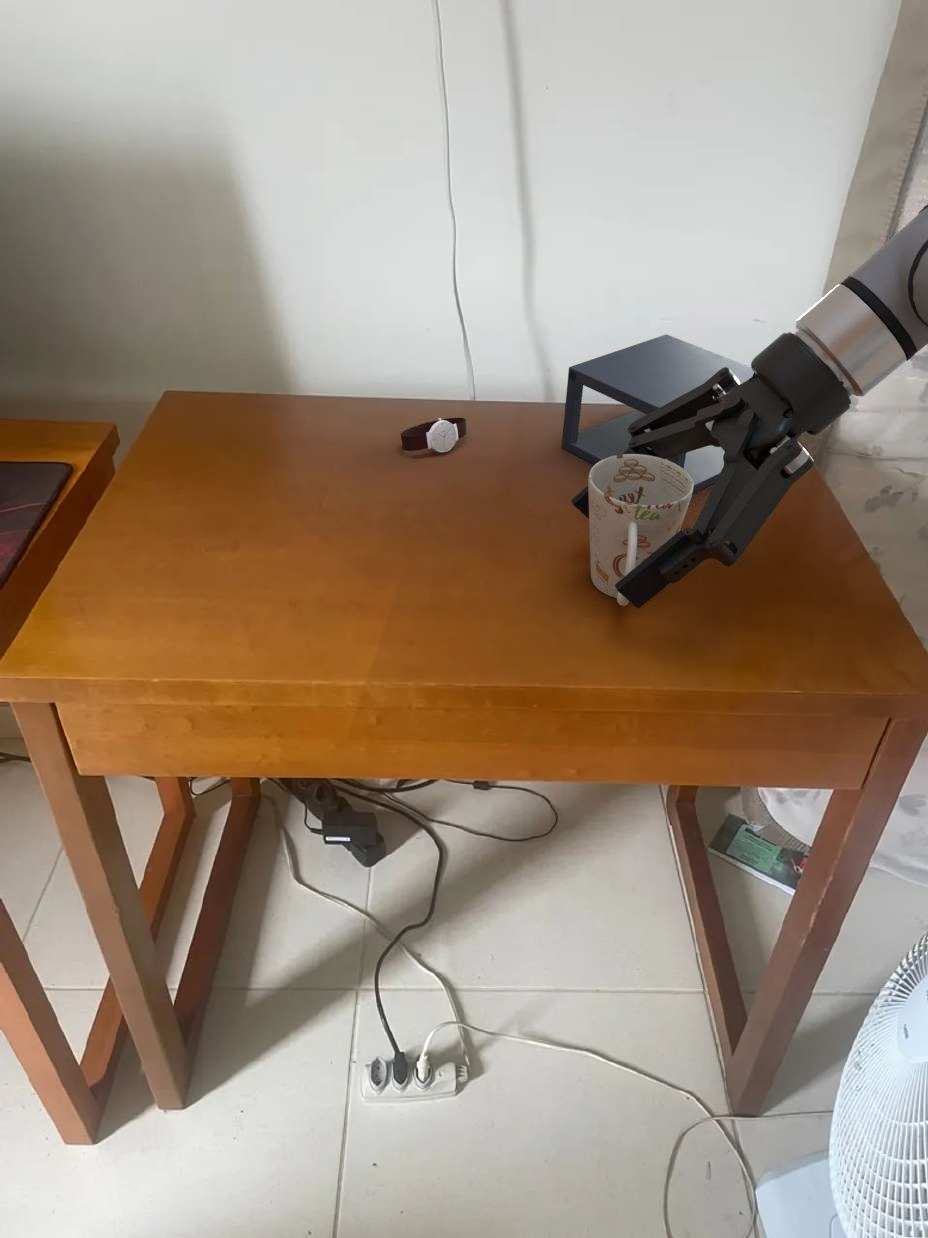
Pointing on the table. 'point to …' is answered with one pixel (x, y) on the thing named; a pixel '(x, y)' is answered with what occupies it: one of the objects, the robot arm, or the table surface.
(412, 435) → the watch
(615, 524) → the mug
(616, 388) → the shelf
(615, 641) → the table surface
